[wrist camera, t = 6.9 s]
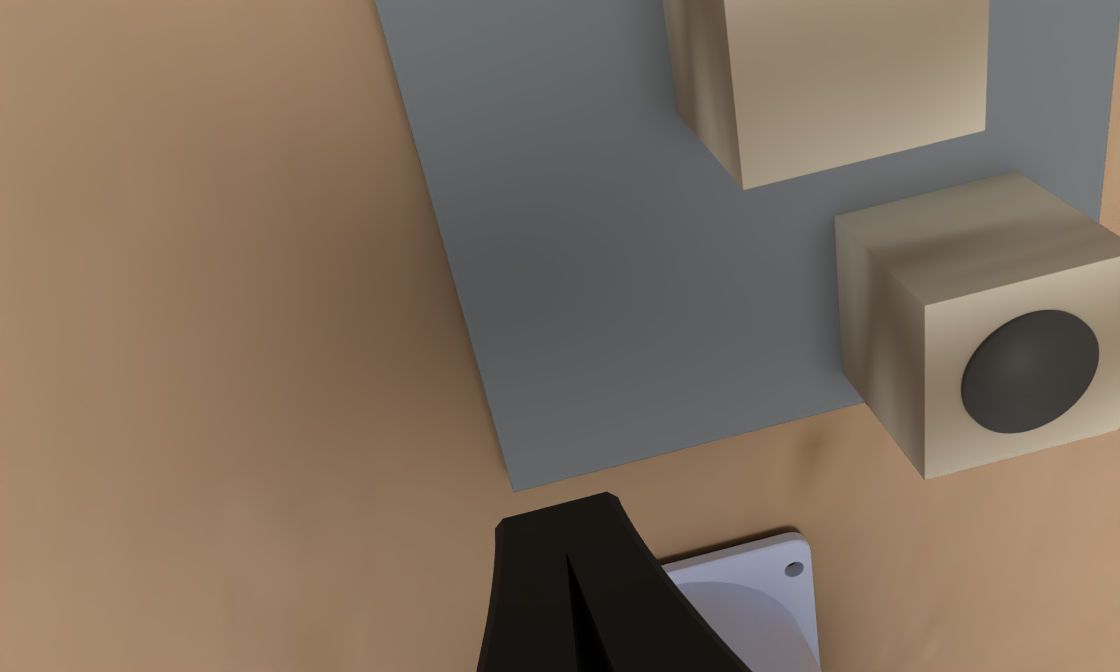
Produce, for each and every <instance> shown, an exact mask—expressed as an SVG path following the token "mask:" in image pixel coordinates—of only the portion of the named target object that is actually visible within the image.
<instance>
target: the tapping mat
mask: <svg viewBox="0 0 1120 672" xmlns="http://www.w3.org/2000/svg"><path fill="white" fill-rule="evenodd" d="M375 4H376V7H377V11H378V14H379V18H380V21H381V25H382V28H383V32H384V35H385V39H386V43H387V46H388V50H389V53H390V57H391V60H392V64H393V67H394V71H395V74H396V78H397V81H398V85H399V89H400V92H401V96H402V99H403V103H404V106H405V110H406V113H407V117H408V120H409V124H410V127H411V131H412V135H413V138H414V142H415V145H416V149H417V152H418V156H419V159H420V163H421V166H422V170H423V174H424V177H425V181H426V184H427V188H428V191H429V195H430V198H431V202H432V205H433V209H434V212H435V216H436V220H437V223H438V227H439V230H440V234H441V237H442V241H443V244H444V248H445V251H446V255H447V258H448V262H449V266H450V269H451V273H452V276H453V280H454V283H455V287H456V290H457V294H458V297H459V301H460V304H461V308H462V312H463V315H464V319H465V322H466V326H467V329H468V333H469V336H470V340H471V343H472V347H473V350H474V354H475V358H476V361H477V365H478V368H479V372H480V375H481V379H482V382H483V386H484V389H485V393H486V396H487V400H488V404H489V407H490V411H491V414H492V418H493V421H494V425H495V428H496V432H497V435H498V439H499V442H500V446H501V450H502V453H503V457H504V460H505V464H506V467H507V471H508V474H509V478H510V481H511V485H512V488H513V492H517V491H521V490H525V489H529V488H533V487H537V486H541V485H545V484H548V483H552V482H556V481H560V480H564V479H568V478H572V477H576V476H580V475H583V474H587V473H591V472H595V471H599V470H603V469H607V468H611V467H615V466H618V465H622V464H626V463H630V462H634V461H638V460H642V459H646V458H650V457H653V456H657V455H661V454H665V453H669V452H673V451H677V450H681V449H685V448H688V447H692V446H696V445H700V444H704V443H708V442H712V441H716V440H720V439H724V438H727V437H731V436H735V435H739V434H743V433H747V432H751V431H755V430H759V429H762V428H766V427H770V426H774V425H778V424H782V423H786V422H790V421H794V420H797V419H801V418H805V417H809V416H813V415H817V414H821V413H825V412H829V411H832V410H836V409H840V408H844V407H848V406H852V405H856V404H860V403H864V402H865V401H864V400H863V399H862V398H861V396H860V395H859V394H858V392H857V391H856V390H855V388H854V387H853V386H852V385H851V383H850V382H849V381H848V379H847V378H846V377H845V375H844V374H843V373H842V354H841V334H840V315H839V296H838V276H837V257H836V237H835V218H834V216H838V215H842V214H846V213H850V212H854V211H858V210H862V209H866V208H870V207H874V206H878V205H882V204H886V203H890V202H894V201H898V200H902V199H906V198H911V197H915V196H919V195H923V194H927V193H931V192H935V191H939V190H943V189H947V188H951V187H955V186H959V185H963V184H967V183H971V182H975V181H979V180H983V179H987V178H991V177H995V176H999V175H1003V174H1007V173H1011V172H1015V171H1017V172H1019V173H1020V174H1022V175H1023V176H1025V177H1027V178H1028V179H1030V180H1031V181H1033V182H1034V183H1036V184H1038V185H1039V186H1041V187H1042V188H1044V189H1045V190H1047V191H1049V192H1050V193H1052V194H1053V195H1055V196H1056V197H1058V198H1060V199H1061V200H1063V201H1064V202H1066V203H1067V204H1069V205H1071V206H1072V207H1074V208H1075V209H1077V210H1078V211H1080V212H1082V213H1083V214H1085V215H1086V216H1088V217H1089V218H1091V219H1093V220H1094V221H1096V222H1097V223H1099V218H1100V208H1101V198H1102V188H1103V178H1104V169H1105V159H1106V149H1107V139H1108V129H1109V120H1110V110H1111V100H1112V90H1113V80H1114V71H1115V61H1116V51H1117V41H1118V31H1119V22H1120V0H989V28H988V57H987V87H986V116H985V130H984V131H980V132H976V133H972V134H968V135H964V136H960V137H956V138H952V139H948V140H944V141H940V142H936V143H932V144H928V145H924V146H920V147H916V148H912V149H907V150H903V151H899V152H895V153H891V154H887V155H883V156H879V157H875V158H871V159H867V160H863V161H859V162H855V163H851V164H847V165H843V166H839V167H835V168H831V169H827V170H822V171H818V172H814V173H810V174H806V175H802V176H798V177H794V178H790V179H786V180H782V181H778V182H774V183H770V184H766V185H762V186H758V187H754V188H750V189H746V190H743V189H742V188H741V187H740V185H739V184H738V183H737V182H736V181H735V180H734V178H733V177H732V176H731V175H730V174H729V173H728V172H727V170H726V169H725V168H724V167H723V166H722V165H721V163H720V162H719V161H718V160H717V159H716V158H715V156H714V155H713V154H712V153H711V152H710V151H709V149H708V148H707V147H706V146H705V145H704V144H703V143H702V141H701V140H700V139H699V138H698V137H697V136H696V134H695V133H694V132H693V131H692V130H691V129H690V127H689V126H688V125H687V124H686V123H685V122H684V120H683V119H682V118H681V117H680V116H679V115H678V113H677V106H676V98H675V91H674V83H673V76H672V68H671V61H670V54H669V46H668V39H667V31H666V24H665V16H664V9H663V1H662V0H375Z"/></svg>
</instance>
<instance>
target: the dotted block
mask: <svg viewBox="0 0 1120 672" xmlns="http://www.w3.org/2000/svg"><path fill="white" fill-rule="evenodd" d="M834 218H835V237H836V257H837V276H838V296H839V315H840V334H841V354H842V373H843V374H844V375H845V377H846V378H847V379H848V381H849V382H850V383H851V385H852V386H853V387H854V388H855V390H856V391H857V392H858V394H859V395H860V396H861V398H862V399H863V400H864V401H865V403H866V404H867V405H868V407H869V408H870V409H871V411H872V412H873V413H874V415H875V416H876V417H877V418H878V420H879V421H880V422H881V424H882V425H883V426H884V428H885V429H886V430H887V432H888V433H889V434H890V435H891V437H892V438H893V439H894V441H895V442H896V443H897V445H898V446H899V447H900V448H901V450H902V451H903V452H904V454H905V455H906V456H907V458H908V459H909V460H910V462H911V463H912V464H913V465H914V467H915V468H916V469H917V471H918V472H919V473H920V475H921V476H922V477H923V479H924V480H927V479H931V478H935V477H939V476H943V475H946V474H950V473H954V472H958V471H962V470H966V469H969V468H973V467H977V466H981V465H985V464H989V463H992V462H996V461H1000V460H1004V459H1008V458H1012V457H1015V456H1019V455H1023V454H1027V453H1031V452H1035V451H1038V450H1042V449H1046V448H1050V447H1054V446H1058V445H1061V444H1065V443H1069V442H1073V441H1077V440H1081V439H1084V438H1088V437H1092V436H1096V435H1100V434H1104V433H1107V432H1111V431H1115V430H1119V424H1120V237H1119V236H1118V235H1116V234H1115V233H1113V232H1111V231H1110V230H1108V229H1107V228H1105V227H1104V226H1102V225H1100V224H1099V223H1097V222H1096V221H1094V220H1093V219H1091V218H1089V217H1088V216H1086V215H1085V214H1083V213H1082V212H1080V211H1078V210H1077V209H1075V208H1074V207H1072V206H1071V205H1069V204H1067V203H1066V202H1064V201H1063V200H1061V199H1060V198H1058V197H1056V196H1055V195H1053V194H1052V193H1050V192H1049V191H1047V190H1045V189H1044V188H1042V187H1041V186H1039V185H1038V184H1036V183H1034V182H1033V181H1031V180H1030V179H1028V178H1027V177H1025V176H1023V175H1022V174H1020V173H1019V172H1017V171H1015V172H1011V173H1007V174H1003V175H999V176H995V177H991V178H987V179H983V180H979V181H975V182H971V183H967V184H963V185H959V186H955V187H951V188H947V189H943V190H939V191H935V192H931V193H927V194H923V195H919V196H915V197H911V198H906V199H902V200H898V201H894V202H890V203H886V204H882V205H878V206H874V207H870V208H866V209H862V210H858V211H854V212H850V213H846V214H842V215H838V216H834Z"/></svg>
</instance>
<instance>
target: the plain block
mask: <svg viewBox="0 0 1120 672" xmlns="http://www.w3.org/2000/svg"><path fill="white" fill-rule="evenodd" d="M662 1H663V9H664V16H665V24H666V31H667V39H668V46H669V54H670V61H671V68H672V76H673V83H674V91H675V98H676V106H677V113H678V115H679V116H680V117H681V118H682V119H683V120H684V122H685V123H686V124H687V125H688V126H689V127H690V129H691V130H692V131H693V132H694V133H695V134H696V136H697V137H698V138H699V139H700V140H701V141H702V143H703V144H704V145H705V146H706V147H707V148H708V149H709V151H710V152H711V153H712V154H713V155H714V156H715V158H716V159H717V160H718V161H719V162H720V163H721V165H722V166H723V167H724V168H725V169H726V170H727V172H728V173H729V174H730V175H731V176H732V177H733V178H734V180H735V181H736V182H737V183H738V184H739V185H740V187H741V188H742V189H743V190H746V189H750V188H754V187H758V186H762V185H766V184H770V183H774V182H778V181H782V180H786V179H790V178H794V177H798V176H802V175H806V174H810V173H814V172H818V171H822V170H827V169H831V168H835V167H839V166H843V165H847V164H851V163H855V162H859V161H863V160H867V159H871V158H875V157H879V156H883V155H887V154H891V153H895V152H899V151H903V150H907V149H912V148H916V147H920V146H924V145H928V144H932V143H936V142H940V141H944V140H948V139H952V138H956V137H960V136H964V135H968V134H972V133H976V132H980V131H984V130H985V116H986V87H987V57H988V28H989V0H662Z"/></svg>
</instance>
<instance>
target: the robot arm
mask: <svg viewBox="0 0 1120 672" xmlns="http://www.w3.org/2000/svg"><path fill="white" fill-rule="evenodd" d="M793 562H796V563H795V564H794V565H791V566H788V565H789V564H791V563H793ZM787 566H788V567H787ZM477 672H822V671H821V669H820V659H819V646H818V634H817V622H816V609H815V597H814V585H813V572H812V560H811V549H810V547H809V544H808V542H807V541H806V539H805V537H804V536H803V535H801V534H800V533H796V532H789V533H784V534H780V535H776V536H773V537H769V538H765V539H761V540H757V541H753V542H750V543H746V544H742V545H738V546H734V547H731V548H727V549H723V550H719V551H715V552H711V553H708V554H704V555H700V556H696V557H692V558H688V559H685V560H681V561H677V562H673V563H669V564H666V565H662V566H661V565H660V564H659V562H658V561H657V560H656V558H655V557H654V555H653V554H652V553H651V551H650V550H649V549H648V547H647V546H646V544H645V543H644V541H643V540H642V538H641V537H640V535H639V534H638V532H637V531H636V529H635V528H634V526H633V524H632V523H631V521H630V519H629V518H628V516H627V514H626V512H625V511H624V509H623V507H622V505H621V503H620V501H619V498H618V497H616V496H615V495H613V494H611V493H609V492H604V493H600V494H596V495H592V496H589V497H585V498H581V499H577V500H573V501H569V502H566V503H562V504H558V505H554V506H550V507H546V508H542V509H539V510H535V511H531V512H527V513H523V514H519V515H516V516H512V517H508V518H504V519H502V520H501V522H500V523H499V524H498V526H497V527H496V528H495V561H494V573H493V582H492V590H491V596H490V603H489V610H488V616H487V622H486V627H485V632H484V637H483V642H482V647H481V652H480V657H479V662H478V667H477Z"/></svg>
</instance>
